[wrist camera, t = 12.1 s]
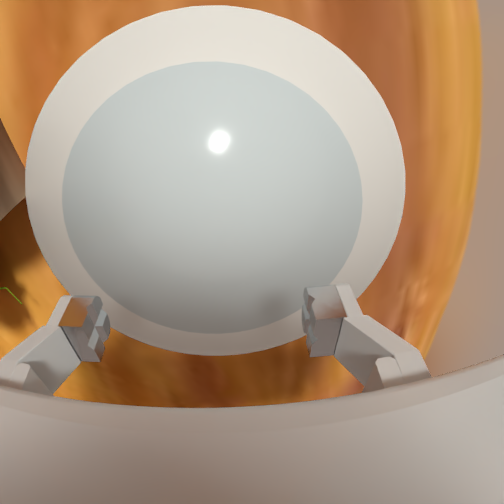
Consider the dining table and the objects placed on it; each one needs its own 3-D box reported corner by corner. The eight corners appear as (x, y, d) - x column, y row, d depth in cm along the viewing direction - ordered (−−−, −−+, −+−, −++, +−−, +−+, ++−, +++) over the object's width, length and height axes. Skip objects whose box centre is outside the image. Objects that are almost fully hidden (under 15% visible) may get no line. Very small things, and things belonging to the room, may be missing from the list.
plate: (8, 61, 10) (-7, 63, 9) (410, 26, 11) (424, 25, 10) (94, 342, 21) (89, 356, 20) (361, 330, 22) (367, 344, 21)
